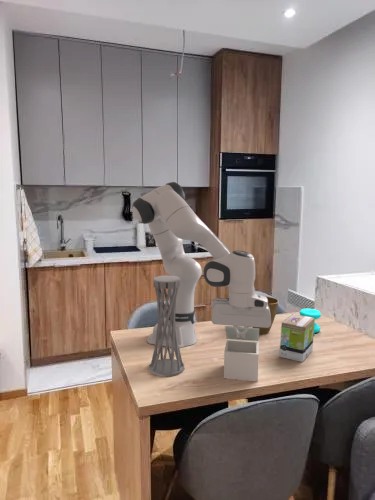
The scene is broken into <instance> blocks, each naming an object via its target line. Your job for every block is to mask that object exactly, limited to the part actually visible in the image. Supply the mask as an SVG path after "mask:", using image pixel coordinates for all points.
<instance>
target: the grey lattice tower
mask: <svg viewBox="0 0 375 500" xmlns="http://www.w3.org/2000/svg"><path fill="white" fill-rule="evenodd" d="M178 287H180V278H179V277H177V276H170V275H158V276H155V277H153V288H154V290H155V293H156V304H157V323H158V326H157V334H156V342H155V345H154V349H153V354H152V357H151V362H150V363H149V365H148V371H149V372H150V374H153V376H156V377H161V376H164V377H165V378H168V376H169V377H174V376H178V375H181V374H182V373H184V371H185V364H184V362H183V359H182V354H181V350H180V348H179V345H178V339H177V331H176V323H175V311H176V296H177V291H178ZM172 289H173V293H172ZM169 297H170V305H169ZM164 298H165V301H164ZM167 308H168V313H167V311H166V309H167ZM169 316H170V322H169ZM164 318H166V321H165V322H164ZM162 325H163V332H162ZM171 325H172V330H171ZM167 326H168V329H169V330H168V335H167V332H166V328H167ZM164 336H165V339H166V346H164V350H163V346H162V344H163V340H164ZM169 337H171V340H172V346H171V347H170V346H169ZM159 340H160V344H159V345H158V342H159ZM174 340H175V341H174ZM163 353H164V354H163ZM167 353H168V354H167ZM167 355H168V358H167Z"/></svg>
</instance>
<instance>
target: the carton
mask: <svg viewBox="0 0 375 500" xmlns="http://www.w3.org/2000/svg"><path fill="white" fill-rule="evenodd" d="M225 342H226V343H225V347H224V353H223V354H224V355H223V356H224V357H223V365H224V366H223V379H224V378H227V379H226V380H235V379H238V380H237V381H246V380H248V382H249V381H250V382H258V381H259V359H260V358H259V357H260V356H259V355H260V353H259V350H260V348H259V346H260V345H259V341H249V340H234V339H227V340H226V341H225Z"/></svg>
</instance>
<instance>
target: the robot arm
mask: <svg viewBox="0 0 375 500" xmlns="http://www.w3.org/2000/svg"><path fill="white" fill-rule="evenodd" d="M131 209H132V213H133V215H134V218H135V219H136V220H137V221H138V222H140V224H143V225H146V224H147V225H148V227H149V228H148V229H149V230H150V233H151V235H152V237H153V239H154V241H155V243H156V246H157V248H158V250H159V254H160V256H161V260H162V263H163V265H162V266H163V269H164V271H165V272H166V274H167V276H177V277H179V278H180V287H178V291H177V296H176V311H175V323H176V331H177V339H178V345H179V349H180V348H183V347H188V346H191V345H194V344H195V343H197V342H198V338H197V333H196V328H195V323H196V310H195V292H196V286H197V283H198V281H199V280H200V278H201V277H202V271H203V278H204V280H205V282H206V283H207V284H208V285H209V286H211V287H213V288H221V287H222V288H223V287H227V288H228V297H215V298H213V299H212V300H211V301H210V307H211V308H210V309H212V313H211V323H212V324H213V325H218V326H232V327H233V329H234V331H235V332H236V338H244V339H245V334H246V332H247V331H248V328H252V327H263V328H269V327H270V326H271V314H270V309H269V306H268V299H267V297H268V296H267V297H265V295H262V294H259V293H257V292H256V288H255V280H256V261H255V257H254V255H253V254H251V253H250V252H248V251H244V250H233V251H231V250H230V249H229V248H228V247H227V246H226V245H225V244H224V243H223V242H222V240H221V239H220V238H219V237H218V236H217V235H216V234H215V232H214V231H213V230H212V229H211V228H210V227H208V225H206V223H205V222H203V221H202V220H201V218H200V217H199V216H198V215H197V214H196V213H195V212H194V210H193V209H192V208H191V207H190V205H189V204H188V203H187V201H186V194H185V192H184V190H183V187H182V186H181V185H180V184H179V183H178V182H176V181H171V182H168V183H165V184H164V185H162V186H158V187H155V188H154V189H152V190H151V191H149V192H147V193H146V194H144V195H143V196H141V197H138V198H137V199H136V200H134V201H133V202H132V206H131ZM184 240H185V241H189V242H194V243H196V244H199V245H201V246H202V247H203V248H204V249H205V250H206V251H207V252H208V253H209V254H210V255H211V256H212V258H213V259H212V260H210V261H208V262H207V263H206V264H205V265H204V267H203V269H202V267H201V264H200V263H199V262H197V260H196V259H194V258H192V257H189V256H187V255H186V253H185V249H184V246H183V242H184ZM172 293H173V289H172ZM168 302H169V305H170V297H169V301H168ZM166 311H167V313H168V308H167V309H166ZM165 321H166V318H165V317H164V322H165ZM169 322H170V316H169ZM157 326H158V322H157V323H156V324H155V325H154V327H153V329H152V332H151V333H150V334H149V335H148V337H147V339H146V340H147V341H146V342H147V343H148V344H149V345H154V346H155V342H156V334H157ZM238 327H244V329H245V330H244V332H239V331H238V329H237V328H238ZM271 327H272V326H271ZM168 330H169V329H168V326H167V328H166V332H167V335H168ZM171 330H172V325H171ZM162 332H163V325H162ZM174 341H175V340H174ZM159 344H160V340H159V342H158V346H159ZM169 346H170V348H171V346H172V340H171V337H169ZM162 347H166V339H165V336H164V340H163V344H162Z"/></svg>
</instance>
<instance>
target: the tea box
mask: <svg viewBox="0 0 375 500" xmlns="http://www.w3.org/2000/svg"><path fill="white" fill-rule="evenodd" d="M315 320H316V319H315V318H313V317H307V316H301V315H300V314H295V313H292V314H291V315H290V316H288V317H287V318H286V319H284V320H283V321H282V322H281V327H280V328H281V329H280V343H279V357H281V358H284V359H287V360H292V361H296V362H302V363H303V362H304V361H305V359H306V358H307V357H308V356H309V355H310V354H311V352H312V351H313V347H314V334H315V333H314V323H315Z"/></svg>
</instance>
